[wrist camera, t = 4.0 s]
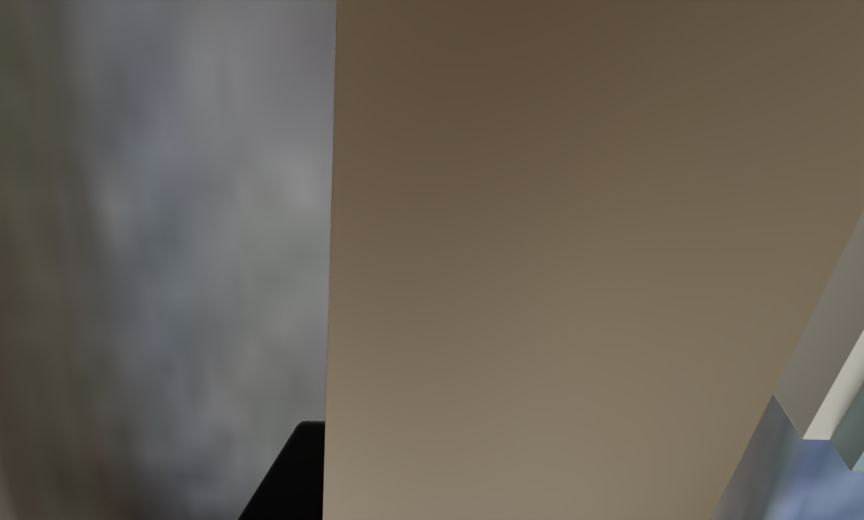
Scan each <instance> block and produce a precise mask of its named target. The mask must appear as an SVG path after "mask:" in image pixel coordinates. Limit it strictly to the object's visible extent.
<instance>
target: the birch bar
mask: <svg viewBox="0 0 864 520" xmlns="http://www.w3.org/2000/svg"><path fill="white" fill-rule="evenodd" d="M863 211H864V0H337V18H336V54H335V91H334V127H333V164H332V200H331V236H330V273H329V309H328V346H327V382H326V419H325V455H324V491H323V520H711V518H712V516H713V514H714V512H715V510H716V508H717V506H718V504H719V502H720V500H721V498H722V496H723V494H724V492H725V490H726V488H727V486H728V484H729V482H730V480H731V478H732V476H733V474H734V472H735V470H736V468H737V466H738V463H739V461H740V459H741V457H742V455H743V453H744V451H745V449H746V447H747V445H748V443H749V441H750V439H751V437H752V435H753V433H754V431H755V429H756V427H757V425H758V423H759V421H760V419H761V417H762V415H763V413H764V411H765V409H766V407H767V405H768V403H769V401H770V399H771V397H772V395H773V393H774V391H775V389H776V387H777V385H778V383H779V381H780V379H781V376H782V374H783V372H784V370H785V368H786V366H787V364H788V362H789V360H790V358H791V356H792V354H793V352H794V350H795V348H796V346H797V344H798V342H799V340H800V338H801V336H802V334H803V332H804V330H805V328H806V326H807V324H808V322H809V320H810V318H811V316H812V314H813V312H814V310H815V308H816V306H817V304H818V302H819V300H820V298H821V296H822V294H823V292H824V289H825V287H826V285H827V283H828V281H829V279H830V277H831V275H832V273H833V271H834V269H835V267H836V265H837V263H838V261H839V259H840V257H841V255H842V253H843V251H844V249H845V247H846V245H847V243H848V241H849V239H850V237H851V235H852V233H853V231H854V229H855V227H856V225H857V223H858V221H859V219H860V217H861V215H862V213H863Z"/></svg>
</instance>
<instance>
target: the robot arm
mask: <svg viewBox="0 0 864 520" xmlns="http://www.w3.org/2000/svg"><path fill="white" fill-rule="evenodd" d="M324 455H325V421H303V422H301V423H299V424H298V425H297V427H296V428H295V430H294V431H293V433H292V435H291V436H290V438H289V439H288V441H287V442H286V444H285V446H284V447H283V449H282V450H281V452H280V454H279V455H278V457H277V458H276V460H275V462H274V463H273V465H272V466H271V468H270V469H269V471H268V473H267V474H266V476H265V477H264V479H263V481H262V482H261V484H260V485H259V487H258V488H257V490H256V492H255V493H254V495H253V496H252V498H251V500H250V501H249V503H248V504H247V506H246V508H245V509H244V511H243V512H242V514H241V515H240V517H239V519H238V520H323V491H324Z"/></svg>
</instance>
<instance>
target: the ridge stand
mask: <svg viewBox="0 0 864 520" xmlns="http://www.w3.org/2000/svg"><path fill="white" fill-rule="evenodd" d="M773 394H774V396H775V398H776V399H777V401H778V402H779V404H780V405H781V407H782V408H783V410H784V411H785V413H786V415H787V416H788V418H789V419H790V421H791V422H792V424H793V425H794V427H795V429H796V430H797V432H798V433H799V435H800V436H801V438H802V439H819V440H830V441H831V442H832V444H833V445H834V447H835V448H836V450H837V451H838V453H839V454H840V456H841V457H842V458H843V460H844V461H845V463H846V464H847V466H848V467H849V469H850V470H851V471H864V211H863V213H862V215H861V217H860V219H859V221H858V223H857V225H856V227H855V229H854V231H853V233H852V235H851V237H850V239H849V241H848V243H847V245H846V247H845V249H844V251H843V253H842V255H841V257H840V259H839V261H838V263H837V265H836V267H835V269H834V271H833V273H832V275H831V277H830V279H829V281H828V283H827V285H826V287H825V289H824V292H823V294H822V296H821V298H820V300H819V302H818V304H817V306H816V308H815V310H814V312H813V314H812V316H811V318H810V320H809V322H808V324H807V326H806V328H805V330H804V332H803V334H802V336H801V338H800V340H799V342H798V344H797V346H796V348H795V350H794V352H793V354H792V356H791V358H790V360H789V362H788V364H787V366H786V368H785V370H784V372H783V374H782V376H781V379H780V381H779V383H778V385H777V387H776V389H775V391H774V393H773Z"/></svg>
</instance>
